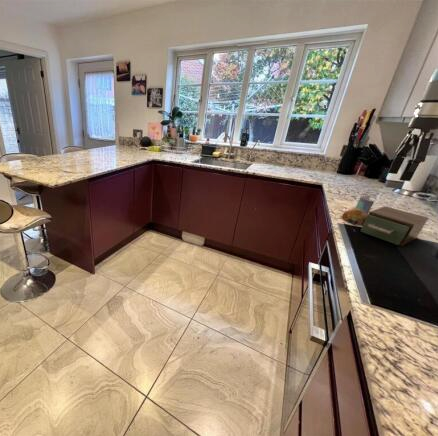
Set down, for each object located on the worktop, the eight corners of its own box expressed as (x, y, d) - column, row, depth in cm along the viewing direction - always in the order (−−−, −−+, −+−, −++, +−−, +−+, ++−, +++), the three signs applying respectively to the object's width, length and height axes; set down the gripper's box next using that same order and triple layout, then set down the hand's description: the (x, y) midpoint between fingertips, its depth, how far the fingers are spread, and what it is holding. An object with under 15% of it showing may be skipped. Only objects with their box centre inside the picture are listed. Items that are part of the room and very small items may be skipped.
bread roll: (365, 231, 111) (377, 217, 109) (355, 225, 107) (367, 210, 105) (344, 222, 120) (355, 209, 118) (334, 216, 116) (345, 202, 113)
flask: (367, 218, 117) (377, 198, 113) (360, 217, 118) (369, 197, 114) (357, 211, 126) (366, 192, 121) (351, 210, 126) (359, 192, 122)
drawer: (393, 248, 89) (403, 229, 85) (354, 233, 99) (362, 216, 95) (412, 237, 97) (422, 220, 94) (375, 225, 107) (382, 209, 104)
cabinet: (401, 246, 92) (414, 224, 88) (359, 231, 103) (369, 211, 99) (416, 238, 99) (428, 217, 95) (375, 225, 110) (385, 206, 106)
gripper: (400, 116, 92) (376, 169, 101) (429, 116, 72) (395, 182, 81) (427, 117, 89) (399, 172, 97) (464, 117, 69) (425, 186, 78)
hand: (397, 176), depth 89 cm, fingers open, 13 cm apart
